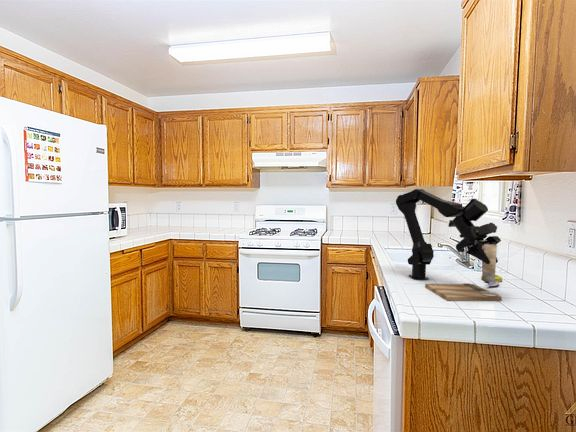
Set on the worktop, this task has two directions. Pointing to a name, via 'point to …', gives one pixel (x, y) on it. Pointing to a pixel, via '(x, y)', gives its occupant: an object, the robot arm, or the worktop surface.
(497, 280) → the knife
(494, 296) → the subfloor panel
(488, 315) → the worktop surface
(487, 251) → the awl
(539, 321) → the worktop surface
